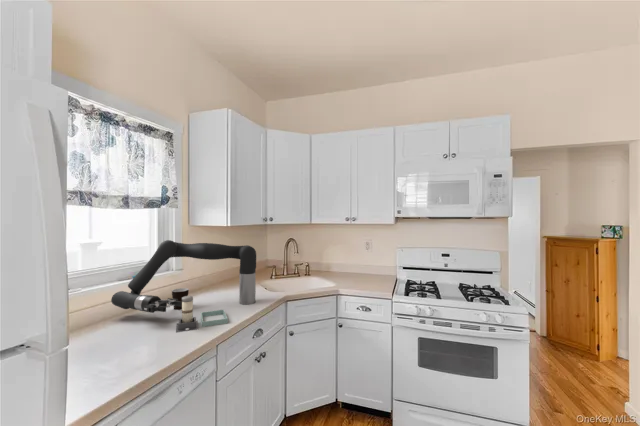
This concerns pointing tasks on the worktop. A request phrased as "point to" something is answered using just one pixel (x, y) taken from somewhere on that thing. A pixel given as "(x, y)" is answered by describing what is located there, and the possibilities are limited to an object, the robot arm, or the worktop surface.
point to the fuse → (187, 309)
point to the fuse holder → (187, 325)
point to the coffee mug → (179, 296)
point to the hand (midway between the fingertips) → (173, 306)
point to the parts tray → (213, 322)
